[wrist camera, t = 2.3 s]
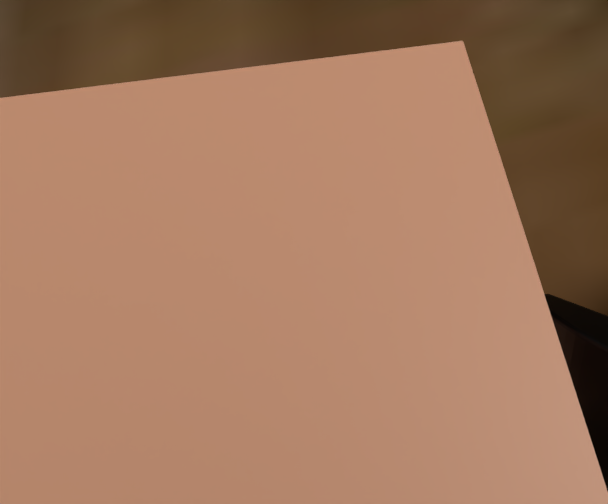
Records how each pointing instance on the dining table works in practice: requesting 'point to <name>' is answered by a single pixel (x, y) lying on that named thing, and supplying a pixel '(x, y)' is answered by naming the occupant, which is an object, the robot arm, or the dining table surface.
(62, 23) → the dining table surface
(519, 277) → the terracotta column
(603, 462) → the robot arm
